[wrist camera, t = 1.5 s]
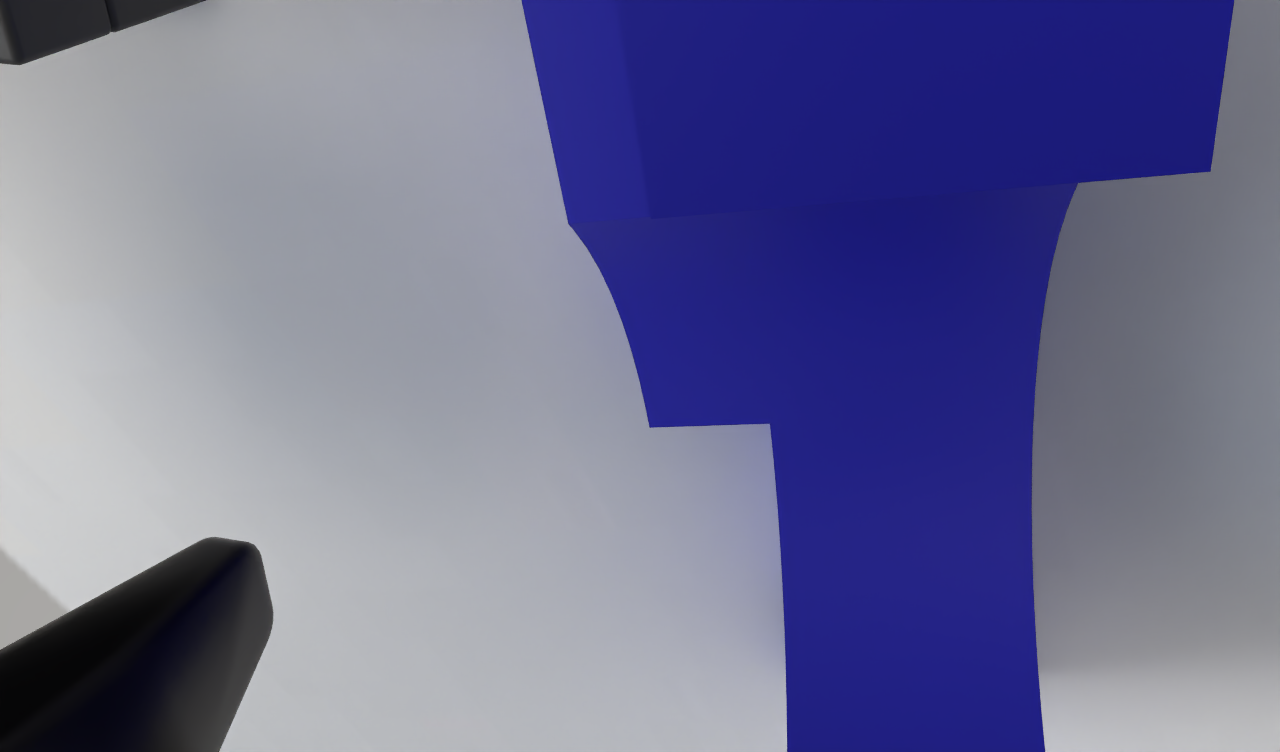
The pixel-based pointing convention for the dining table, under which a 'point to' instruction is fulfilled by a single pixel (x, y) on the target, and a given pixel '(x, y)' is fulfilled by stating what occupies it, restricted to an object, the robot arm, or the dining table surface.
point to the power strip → (69, 23)
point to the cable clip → (869, 292)
